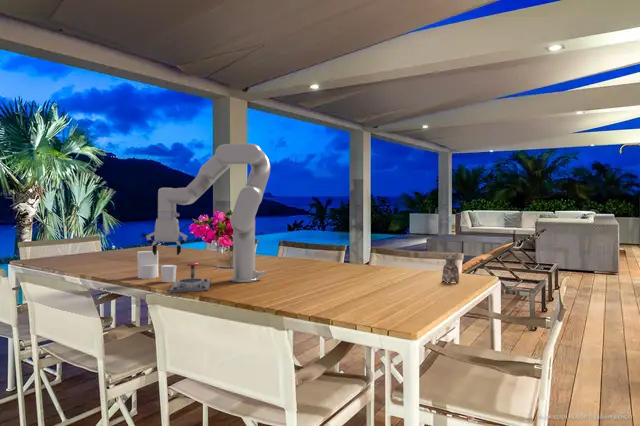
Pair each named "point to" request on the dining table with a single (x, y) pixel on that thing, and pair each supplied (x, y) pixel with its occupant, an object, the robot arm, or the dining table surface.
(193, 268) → the valve body
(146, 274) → the base with upright slab
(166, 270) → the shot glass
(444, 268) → the figurine
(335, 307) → the dining table surface
